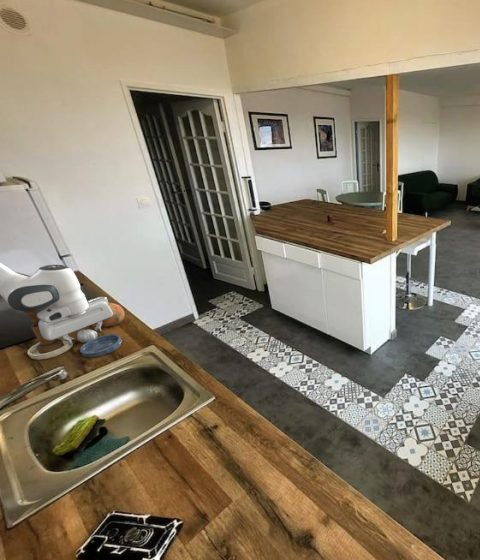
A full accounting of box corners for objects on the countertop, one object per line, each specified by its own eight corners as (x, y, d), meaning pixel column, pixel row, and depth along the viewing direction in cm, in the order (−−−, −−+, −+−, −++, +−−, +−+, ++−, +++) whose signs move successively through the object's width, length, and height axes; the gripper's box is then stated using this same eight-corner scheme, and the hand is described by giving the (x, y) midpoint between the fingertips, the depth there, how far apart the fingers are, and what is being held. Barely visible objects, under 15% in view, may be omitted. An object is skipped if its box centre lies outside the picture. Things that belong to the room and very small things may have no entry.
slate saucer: (92, 361, 111) (89, 357, 110) (76, 352, 115) (73, 347, 114) (128, 344, 120) (126, 339, 119) (112, 335, 124) (110, 331, 123)
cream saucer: (38, 364, 109) (35, 359, 108) (24, 354, 113) (21, 349, 112) (80, 345, 118) (77, 341, 117) (65, 337, 123) (62, 332, 122)
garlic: (76, 346, 118) (70, 335, 116) (82, 338, 122) (76, 327, 120) (96, 342, 120) (90, 331, 118) (101, 335, 125) (96, 324, 122)
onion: (113, 317, 136) (105, 297, 132) (133, 319, 135) (125, 299, 131) (91, 329, 128) (81, 309, 123) (113, 332, 127) (103, 311, 122)
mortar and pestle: (64, 341, 120) (42, 301, 112) (64, 349, 116) (42, 307, 108) (39, 348, 116) (15, 307, 108) (39, 357, 112) (14, 314, 104)
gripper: (100, 292, 124) (112, 322, 130) (30, 316, 107) (47, 348, 113) (109, 296, 122) (121, 326, 128) (38, 321, 105) (55, 353, 111)
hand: (85, 336), depth 120 cm, fingers open, 7 cm apart
